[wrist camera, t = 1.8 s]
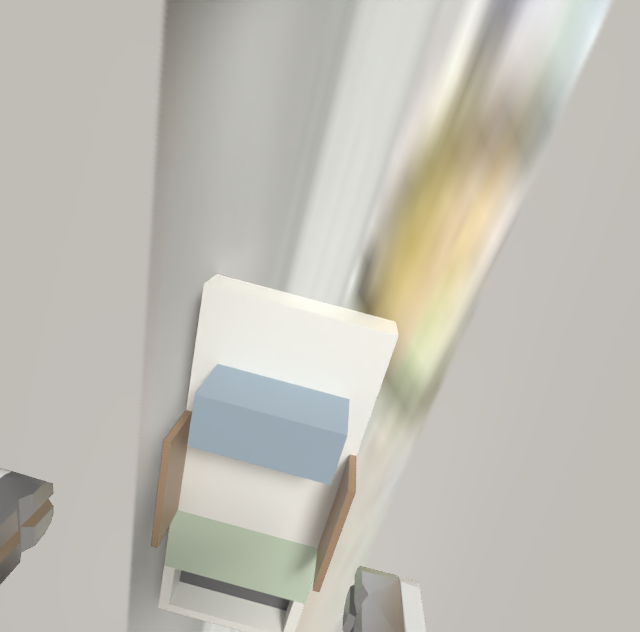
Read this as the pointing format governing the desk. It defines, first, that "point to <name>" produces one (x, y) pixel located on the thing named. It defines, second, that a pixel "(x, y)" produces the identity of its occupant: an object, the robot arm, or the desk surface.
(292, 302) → the tunnel deck
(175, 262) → the desk surface
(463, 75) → the desk surface
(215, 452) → the slate bar
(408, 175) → the desk surface
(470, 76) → the desk surface
